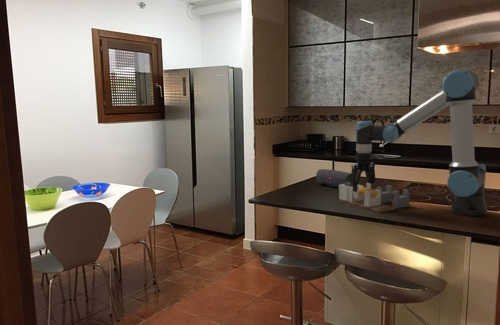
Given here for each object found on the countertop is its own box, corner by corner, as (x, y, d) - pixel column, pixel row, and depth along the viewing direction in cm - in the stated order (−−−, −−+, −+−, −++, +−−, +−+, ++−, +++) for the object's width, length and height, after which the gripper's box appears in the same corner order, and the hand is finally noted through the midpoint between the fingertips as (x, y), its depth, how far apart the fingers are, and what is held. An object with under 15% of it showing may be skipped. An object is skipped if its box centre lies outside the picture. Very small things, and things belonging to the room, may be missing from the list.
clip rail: (395, 209, 201) (395, 208, 201) (380, 212, 196) (380, 211, 196) (352, 197, 227) (352, 196, 227) (337, 199, 222) (337, 198, 222)
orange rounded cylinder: (379, 197, 205) (379, 188, 205) (372, 198, 203) (373, 189, 203) (350, 189, 223) (351, 181, 222) (344, 190, 221) (344, 182, 220)
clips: (381, 204, 208) (381, 190, 207) (367, 207, 204) (368, 192, 203) (351, 196, 226) (351, 183, 225) (338, 198, 222) (338, 184, 221)
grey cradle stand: (408, 206, 207) (409, 190, 206) (397, 208, 203) (398, 191, 202) (387, 200, 219) (387, 185, 218) (376, 202, 216) (376, 186, 214)
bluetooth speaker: (315, 184, 263) (315, 169, 262) (324, 182, 269) (324, 167, 268) (345, 190, 246) (345, 173, 245) (354, 188, 252) (355, 171, 251)
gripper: (373, 150, 218) (372, 193, 221) (342, 152, 208) (341, 197, 211) (384, 151, 211) (382, 195, 214) (353, 154, 201) (352, 200, 205)
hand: (362, 196), depth 213 cm, fingers open, 8 cm apart
